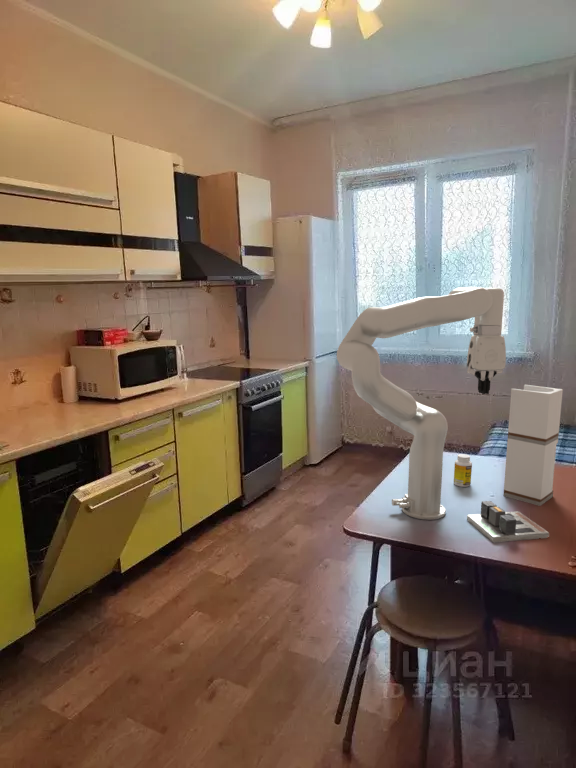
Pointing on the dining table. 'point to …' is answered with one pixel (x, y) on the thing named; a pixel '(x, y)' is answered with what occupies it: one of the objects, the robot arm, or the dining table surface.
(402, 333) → the robot arm
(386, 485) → the dining table surface
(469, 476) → the supplement bottle
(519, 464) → the tall open white box
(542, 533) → the panel
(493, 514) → the block
